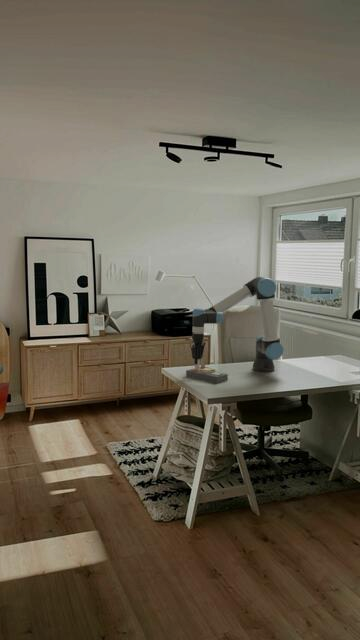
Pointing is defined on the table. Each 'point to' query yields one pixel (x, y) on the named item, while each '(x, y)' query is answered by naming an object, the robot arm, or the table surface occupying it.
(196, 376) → the keypad
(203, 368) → the headphone stand
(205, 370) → the sand key
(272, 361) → the robot arm
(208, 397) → the table surface
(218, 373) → the sage key
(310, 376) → the table surface
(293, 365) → the table surface
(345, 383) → the table surface
